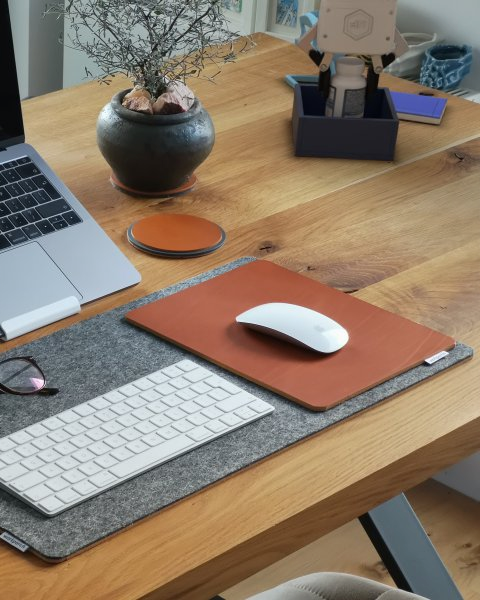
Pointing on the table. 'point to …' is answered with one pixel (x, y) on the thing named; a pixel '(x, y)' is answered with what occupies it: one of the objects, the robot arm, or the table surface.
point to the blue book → (418, 107)
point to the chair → (309, 21)
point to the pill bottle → (347, 89)
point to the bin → (343, 127)
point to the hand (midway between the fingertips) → (346, 95)
